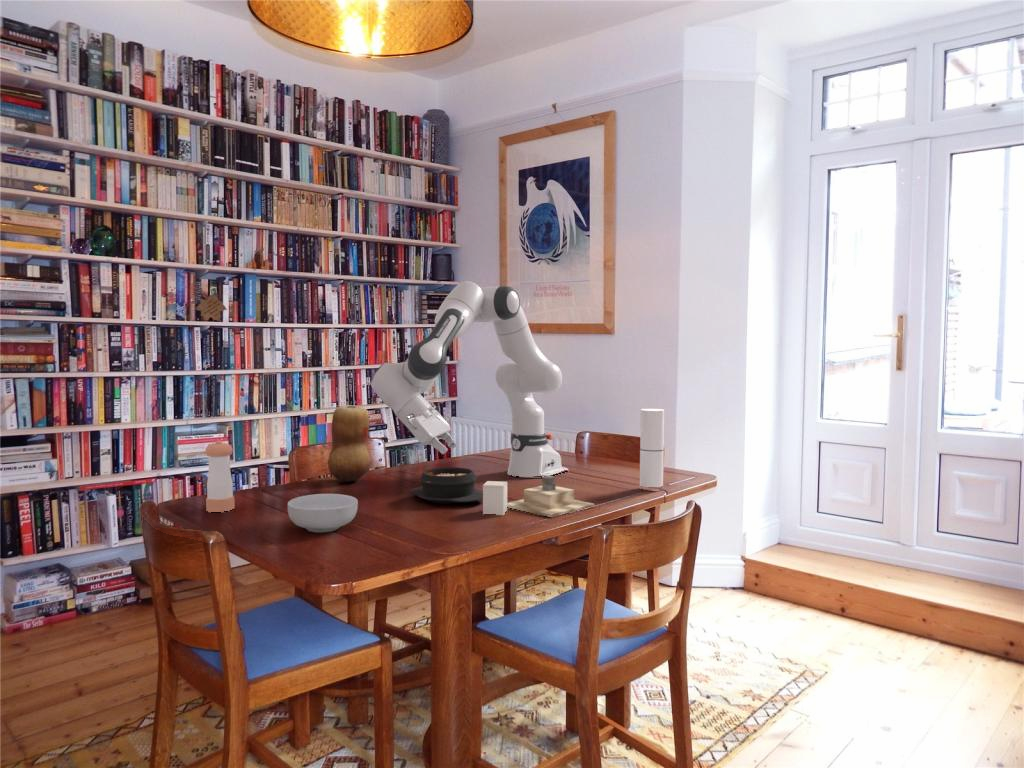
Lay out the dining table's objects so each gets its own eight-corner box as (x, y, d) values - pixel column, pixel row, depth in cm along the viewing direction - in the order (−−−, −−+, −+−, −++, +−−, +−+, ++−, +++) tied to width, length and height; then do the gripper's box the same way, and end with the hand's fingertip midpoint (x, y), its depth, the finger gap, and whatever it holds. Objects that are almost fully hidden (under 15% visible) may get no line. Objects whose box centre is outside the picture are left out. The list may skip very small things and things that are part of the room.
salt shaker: (221, 513, 200) (220, 443, 199) (200, 511, 203) (198, 441, 201) (240, 507, 207) (238, 439, 206) (219, 505, 209) (217, 438, 208)
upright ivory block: (487, 509, 206) (487, 480, 205) (507, 510, 205) (507, 481, 204) (483, 514, 200) (483, 485, 200) (503, 515, 199) (503, 485, 199)
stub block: (546, 497, 221) (547, 468, 221) (594, 507, 209) (594, 477, 208) (503, 507, 209) (503, 477, 208) (551, 518, 196) (551, 486, 195)
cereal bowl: (292, 540, 175) (292, 511, 174) (284, 524, 190) (283, 496, 189) (364, 533, 181) (364, 504, 181) (350, 517, 197) (350, 491, 196)
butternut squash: (361, 486, 236) (360, 408, 234) (321, 484, 238) (320, 407, 237) (376, 478, 250) (375, 404, 248) (338, 476, 252) (337, 403, 250)
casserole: (395, 499, 219) (395, 471, 218) (440, 489, 233) (439, 462, 232) (457, 512, 203) (457, 481, 202) (501, 500, 217) (501, 472, 217)
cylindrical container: (637, 490, 231) (638, 410, 230) (642, 486, 238) (643, 408, 236) (660, 492, 229) (661, 411, 227) (664, 487, 235) (666, 409, 234)
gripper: (412, 408, 194) (448, 447, 193) (434, 402, 214) (466, 437, 213) (395, 425, 195) (431, 463, 194) (419, 417, 215) (451, 452, 214)
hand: (450, 449), depth 203 cm, fingers open, 8 cm apart
